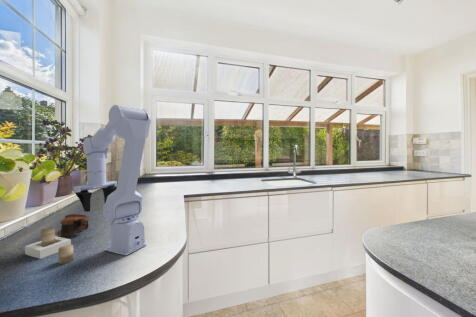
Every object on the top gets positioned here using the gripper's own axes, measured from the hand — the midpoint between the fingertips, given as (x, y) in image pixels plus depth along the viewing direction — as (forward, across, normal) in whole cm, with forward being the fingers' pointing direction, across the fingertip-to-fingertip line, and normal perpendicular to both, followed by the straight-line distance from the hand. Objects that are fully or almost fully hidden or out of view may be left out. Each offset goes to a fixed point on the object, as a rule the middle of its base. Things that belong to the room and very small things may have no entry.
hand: (97, 208), depth 78 cm
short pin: (+10, +16, +10) cm, 21 cm away
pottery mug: (+10, +1, -11) cm, 15 cm away
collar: (+10, +14, -2) cm, 17 cm away
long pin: (+10, +14, -2) cm, 17 cm away
